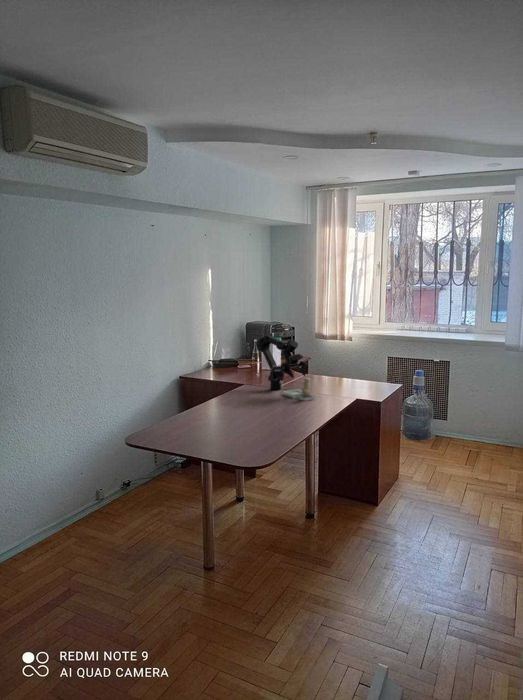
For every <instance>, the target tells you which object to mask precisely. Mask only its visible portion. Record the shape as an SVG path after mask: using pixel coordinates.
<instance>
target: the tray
mask: <svg viewBox="0 0 523 700" xmlns="http://www.w3.org/2000/svg"><path fill="white" fill-rule="evenodd" d="M282 395H283V396H285V397H287V398H290V399H297V395H302V389H291V390H283V391H282Z"/></svg>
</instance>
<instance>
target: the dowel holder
mask: <svg viewBox="0 0 523 700" xmlns="http://www.w3.org/2000/svg"><path fill="white" fill-rule="evenodd" d="M297 399H298V400H300V401H304V402H306V401H307V402H308V401H314V400H315V396H314V395H312V394H310V397H302V395H297V398H296V400H297Z"/></svg>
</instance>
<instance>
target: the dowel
mask: <svg viewBox="0 0 523 700" xmlns="http://www.w3.org/2000/svg"><path fill="white" fill-rule="evenodd" d="M301 379H302V380H301V391H302V397H310V395H311V378H310V377H303V378H301Z"/></svg>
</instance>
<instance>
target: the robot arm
mask: <svg viewBox="0 0 523 700" xmlns="http://www.w3.org/2000/svg"><path fill="white" fill-rule="evenodd" d="M271 344H272V345H274V346H275V347H276V349H278V351H281V353H280V356H281V357H282V356H283V357H284V362H282V363H281V364H280V365H279V366H278V364H277V363H276V360H275V358H274V356H273V354H272V352H271V350H270V346H271ZM256 347H257V349H258V351H260V352H261V353H262V354H263V356H264V358H265V360H266V363H267V365H268V367H269V369H270V370H269V376H268V379H267V380H268V381H269V383H270V388H269V391H277V392H278V391H280V390H282V383H281V381H283V380H284V376H285V374H287V375H288V376H289V377H291V378H292V379H293V378H294V374H293V372H292V369H291V368H298V369H299V372H300V373H301V374H302V375H303V376H304V377H306V367H307V366H308V364H309V363H308V361H307V360H302V359H303V358H304V357H303V354H302V353H301V352H300V353H297V354H293V353H294V352H295V351H296V349H297V348H298V347H299V344H298V342H297V341H295V340H294V339H292V338H291V339H289V341H288V340H284V339H283V340H281V339H279V338H277V337H275V336H273V335H272V334H266V335H264V336H263V337H261V338H259V340H257V342H256ZM300 360H301V361H300Z"/></svg>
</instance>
